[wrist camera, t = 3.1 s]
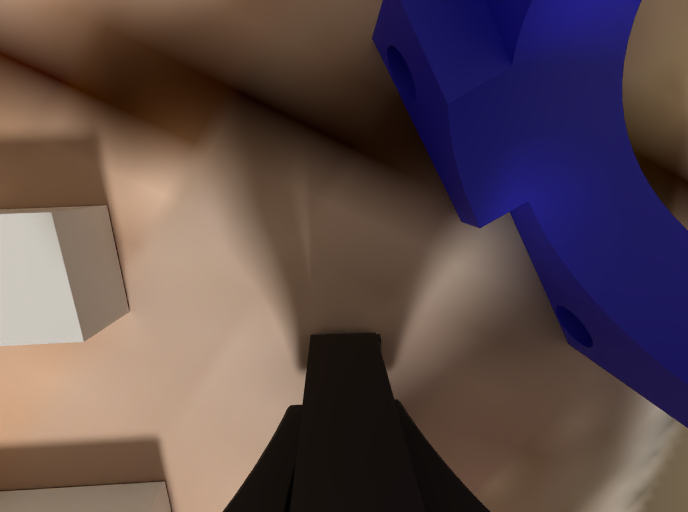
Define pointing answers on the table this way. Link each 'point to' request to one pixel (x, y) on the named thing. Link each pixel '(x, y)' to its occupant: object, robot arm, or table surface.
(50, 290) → the groove holder
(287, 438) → the robot arm
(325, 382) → the ink cartridge
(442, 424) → the table surface
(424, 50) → the blue curved piece
